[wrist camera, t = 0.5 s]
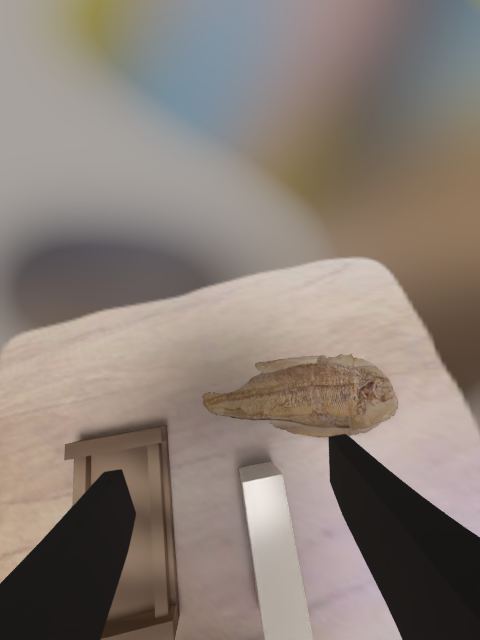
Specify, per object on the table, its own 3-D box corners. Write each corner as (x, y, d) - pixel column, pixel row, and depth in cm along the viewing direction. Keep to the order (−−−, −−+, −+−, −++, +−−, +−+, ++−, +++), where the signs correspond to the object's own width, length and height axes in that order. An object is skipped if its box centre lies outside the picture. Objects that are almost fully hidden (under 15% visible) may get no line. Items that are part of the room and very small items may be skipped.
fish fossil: (200, 443, 31) (199, 444, 30) (199, 361, 35) (198, 359, 34) (402, 424, 33) (408, 424, 32) (379, 348, 36) (384, 346, 35)
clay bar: (295, 597, 27) (315, 649, 21) (258, 606, 26) (268, 663, 21) (271, 460, 31) (282, 474, 25) (238, 467, 30) (242, 482, 24)
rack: (179, 615, 26) (173, 642, 23) (74, 642, 25) (55, 673, 22) (166, 425, 31) (160, 427, 28) (80, 440, 30) (65, 444, 27)
